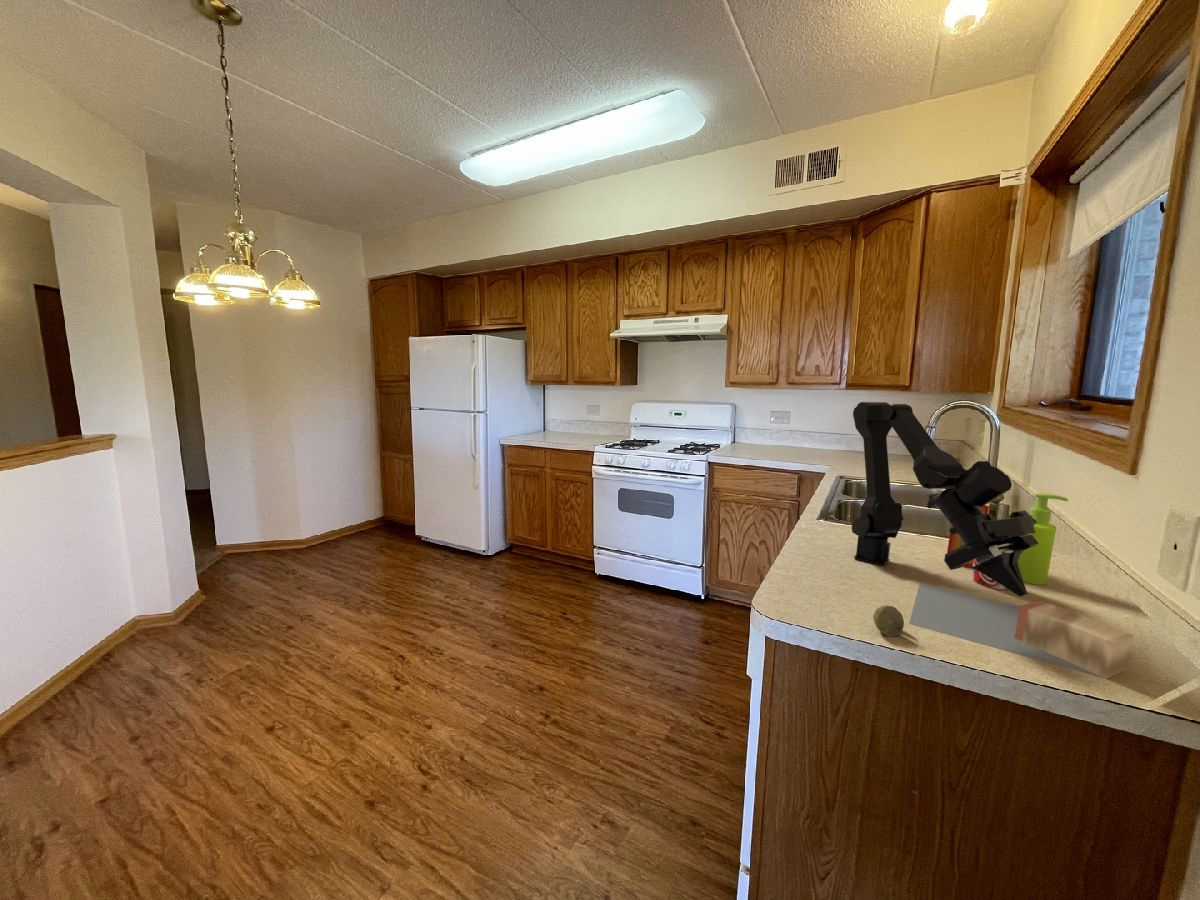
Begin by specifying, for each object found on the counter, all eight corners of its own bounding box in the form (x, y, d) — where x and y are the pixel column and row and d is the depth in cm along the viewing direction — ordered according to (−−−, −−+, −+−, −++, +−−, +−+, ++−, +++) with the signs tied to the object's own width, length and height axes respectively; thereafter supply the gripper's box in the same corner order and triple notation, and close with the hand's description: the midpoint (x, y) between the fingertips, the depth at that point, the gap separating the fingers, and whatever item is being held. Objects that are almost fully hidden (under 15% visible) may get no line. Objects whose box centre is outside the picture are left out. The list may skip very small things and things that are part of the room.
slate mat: (908, 626, 89) (909, 623, 89) (919, 585, 106) (919, 582, 106) (1110, 683, 73) (1110, 679, 73) (1084, 624, 90) (1084, 621, 90)
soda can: (1019, 594, 102) (1028, 540, 100) (981, 590, 104) (989, 537, 102) (999, 580, 109) (1007, 529, 107) (964, 577, 110) (971, 527, 108)
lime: (904, 632, 87) (907, 606, 86) (895, 642, 83) (899, 616, 83) (877, 623, 90) (880, 598, 89) (868, 632, 87) (871, 606, 86)
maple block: (1019, 606, 83) (1113, 642, 72) (1040, 600, 85) (1134, 634, 75) (1014, 638, 84) (1106, 678, 73) (1034, 631, 86) (1126, 669, 76)
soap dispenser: (1055, 588, 105) (1072, 499, 102) (1014, 580, 109) (1029, 494, 106) (1048, 578, 110) (1064, 493, 107) (1009, 571, 114) (1023, 489, 111)
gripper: (971, 500, 84) (1037, 587, 75) (1033, 491, 91) (1100, 569, 83) (920, 530, 92) (975, 610, 84) (981, 519, 99) (1037, 592, 91)
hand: (1023, 595), depth 85 cm, fingers closed
